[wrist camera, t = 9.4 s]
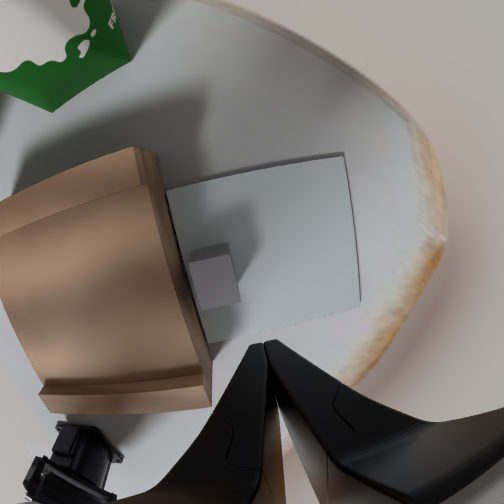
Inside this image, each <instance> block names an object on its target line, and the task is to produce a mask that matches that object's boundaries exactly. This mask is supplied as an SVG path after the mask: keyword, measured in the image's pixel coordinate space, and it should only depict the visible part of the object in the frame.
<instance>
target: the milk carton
mask: <svg viewBox="0 0 504 504" xmlns="http://www.w3.org/2000/svg"><path fill="white" fill-rule="evenodd" d="M130 61H131V59H130V57H129V54H128V51H127V48H126V45H125V42H124V39H123V36H122V33H121V30H120V27H119V24H118V21H117V17H116V14H115V11H114V8H113V6H112V3H111V0H0V91H1V92H4V93H7V94H9V95H12V96H14V97H17V98H19V99H21V100H24V101H26V102H28V103H31V104H33V105H35V106H38V107H40V108H42V109H45V110H47V111H49V112H51V113H52V112H54V111H55V110H56V109H58V108H59V107H60V106H62V105H63V104H64V103H66V102H67V101H68V100H70V99H71V98H73V97H74V96H75V95H77V94H78V93H80V92H81V91H83V90H84V89H86V88H87V87H89V86H90V85H92V84H93V83H95V82H96V81H98V80H100V79H101V78H103V77H104V76H106V75H108V74H109V73H111V72H113V71H114V70H116V69H118V68H120V67H121V66H123V65H125V64H127V63H129V62H130Z"/></svg>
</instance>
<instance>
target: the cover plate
mask: <svg viewBox="0 0 504 504" xmlns="http://www.w3.org/2000/svg"><path fill="white" fill-rule="evenodd" d="M166 193H167V197H168V202H169V206H170V210H171V214H172V218H173V223H174V227H175V231H176V234H177V238H178V242H179V246H180V250H181V254H182V257H183V261H184V265H185V268H186V272H187V275H188V279H189V282H190V286H191V289H192V293H193V296H194V299H195V303H196V306H197V309H198V313H199V316H200V319H201V322H202V325H203V329H204V332H205V335H206V338H207V341H208V344H210V343H215V342H220V341H225V340H230V339H235V338H240V337H244V336H249V335H254V334H258V333H262V332H267V331H271V330H275V329H279V328H283V327H287V326H291V325H295V324H299V323H303V322H307V321H310V320H314V319H318V318H321V317H325V316H329V315H332V314H336V313H339V312H343V311H346V310H349V309H353V308H356V307H359V306H360V293H359V277H358V264H357V253H356V243H355V233H354V225H353V217H352V209H351V202H350V195H349V188H348V181H347V175H346V169H345V164H344V158H343V156H340V157H333V158H326V159H319V160H312V161H306V162H300V163H294V164H288V165H282V166H276V167H271V168H266V169H260V170H255V171H250V172H245V173H240V174H235V175H231V176H226V177H221V178H217V179H212V180H208V181H204V182H199V183H195V184H191V185H187V186H183V187H179V188H175V189H171V190H167V191H166Z"/></svg>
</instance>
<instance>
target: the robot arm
mask: <svg viewBox="0 0 504 504" xmlns="http://www.w3.org/2000/svg"><path fill="white" fill-rule="evenodd" d="M276 399H277V400H276ZM277 403H278V405H277ZM278 407H279V410H280V412H281V415H282V417H283V420H284V422H285V425H286V427H287V429H288V432H289V434H290V437H291V439H292V441H293V444H294V446H295V448H296V451H297V453H298V455H299V458H300V460H301V462H302V464H303V467H304V469H305V472H306V474H307V476H308V478H309V481H310V483H311V485H312V487H313V490H314V492H315V494H316V496H317V498H318V500H319V503H320V504H504V407H503V408H500V409H497V410H493V411H489V412H486V413H482V414H478V415H474V416H470V417H465V418H461V419H456V420H450V421H445V422H428V421H423V420H420V419H417V418H415V417H412V416H409V415H407V414H404V413H402V412H399V411H397V410H395V409H392V408H390V407H387V406H385V405H383V404H380V403H378V402H376V401H374V400H372V399H370V398H368V397H365V396H364V395H362V394H360V393H358V392H357V391H355V390H353V389H351V388H350V387H348V386H347V385H345V384H342V382H340V381H339V380H337V379H335V378H334V377H332V376H331V375H329V374H328V373H326V372H325V371H323V370H322V369H320V368H318V367H317V366H315V365H314V364H312V363H311V362H309V361H308V360H306V359H305V358H303V357H302V356H300V355H299V354H297V353H296V352H295V351H293V350H292V349H290V348H289V347H287V346H286V345H284V344H283V343H281V342H280V341H279V340H277V339H274V340H270V341H266V342H264V344H263V343H257V344H252V345H250V346H249V348H248V349H247V351H246V353H245V355H244V357H243V359H242V361H241V362H240V364H239V366H238V368H237V370H236V372H235V373H234V375H233V377H232V379H231V381H230V382H229V384H228V386H227V388H226V390H225V391H224V393H223V395H222V397H221V399H220V400H219V402H218V404H217V406H216V407H215V409H214V411H213V413H212V414H211V416H210V418H209V419H208V421H207V423H206V424H205V426H204V427H203V429H202V431H201V432H200V434H199V435H198V437H197V438H196V439H195V441H194V442H193V443H192V444H191V446H190V447H189V448H188V450H187V451H186V452H185V453H184V455H183V456H182V457H181V458H180V459H179V461H178V462H177V463H176V464H175V465H174V466H173V468H172V469H171V470H170V471H169V472H168V474H167V475H166V476H165V477H164V478H163V479H162V480H161V481H160V482H159V483H158V484H157V485H156V486H154V487H153V488H151V489H150V490H148V491H146V492H143V493H141V494H137V495H134V496H130V497H127V498H123V499H119V500H117V495H116V494H113V493H110V492H108V491H105V490H104V487H105V483H106V480H107V476H108V472H109V469H110V465H111V463H122V461H123V459H122V458H121V457H120V455H119V454H118V453H117V452H116V451H115V449H114V448H113V447H112V446H111V444H110V443H109V442H108V441H107V439H106V438H105V437H104V435H103V434H102V433H101V431H100V430H99V429H98V428H96V427H87V426H71V425H59V424H57V425H56V427H55V428H56V430H57V431H58V432H59V435H58V437H57V439H56V442H55V444H54V446H53V448H52V452H53V454H52V456H51V458H50V459H48V457H46V456H45V455H44V456H43V458H41V457H37V456H36V457H35V459H34V461H33V463H32V465H31V467H30V469H29V471H28V473H27V475H26V477H25V479H24V481H23V485H24V487H25V489H26V491H25V493H27V494H26V497H25V499H26V500H28V501H30V502H24V503H19V504H286V496H285V482H284V470H283V457H282V445H281V433H280V421H279V411H278ZM41 473H42V474H43V475H41Z"/></svg>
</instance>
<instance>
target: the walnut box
mask: <svg viewBox="0 0 504 504" xmlns="http://www.w3.org/2000/svg"><path fill="white" fill-rule="evenodd" d="M0 298H1V300H2V303H3V305H4V308H5V310H6V313H7V315H8V317H9V320H10V322H11V324H12V327H13V329H14V331H15V333H16V335H17V337H18V339H19V341H20V343H21V345H22V347H23V349H24V351H25V353H26V355H27V357H28V359H29V361H30V363H31V364H32V366H33V368H34V370H35V371H36V373H37V375H38V377H39V378H40V380H41V382H42V383H43V385H44V387H43V388H42V390H41V391H40V393H39V394H38V395H39V396H40V398H41V399H42V401H43V402H44V404H45V405H46V407H47V408H48V410H49V411H50V412H51V413H61V414H82V415H125V414H146V413H161V412H172V411H182V410H191V409H199V408H206V407H212V366H213V362H212V359H211V356H210V353H209V350H208V347H207V344H206V341H205V338H204V335H203V332H202V328H201V325H200V322H199V319H198V316H197V312H196V309H195V306H194V302H193V299H192V296H191V292H190V289H189V285H188V282H187V279H186V275H185V271H184V268H183V264H182V260H181V257H180V253H179V249H178V245H177V242H176V238H175V234H174V230H173V226H172V222H171V218H170V213H169V209H168V205H167V201H166V196H165V192H164V187H163V183H162V178H161V174H160V169H159V164H158V159H157V154H155V153H152V152H149V151H146V150H143V149H140V148H137V147H134V146H132V147H129V148H126V149H123V150H120V151H117V152H114V153H111V154H108V155H105V156H102V157H99V158H97V159H94V160H91V161H89V162H86V163H83V164H81V165H78V166H76V167H73V168H71V169H68V170H66V171H63V172H61V173H59V174H56V175H54V176H52V177H49V178H47V179H45V180H43V181H41V182H38V183H36V184H34V185H32V186H30V187H28V188H26V189H24V190H22V191H20V192H18V193H16V194H14V195H12V196H10V197H8V198H6V199H4V200H2V201H0Z"/></svg>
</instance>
